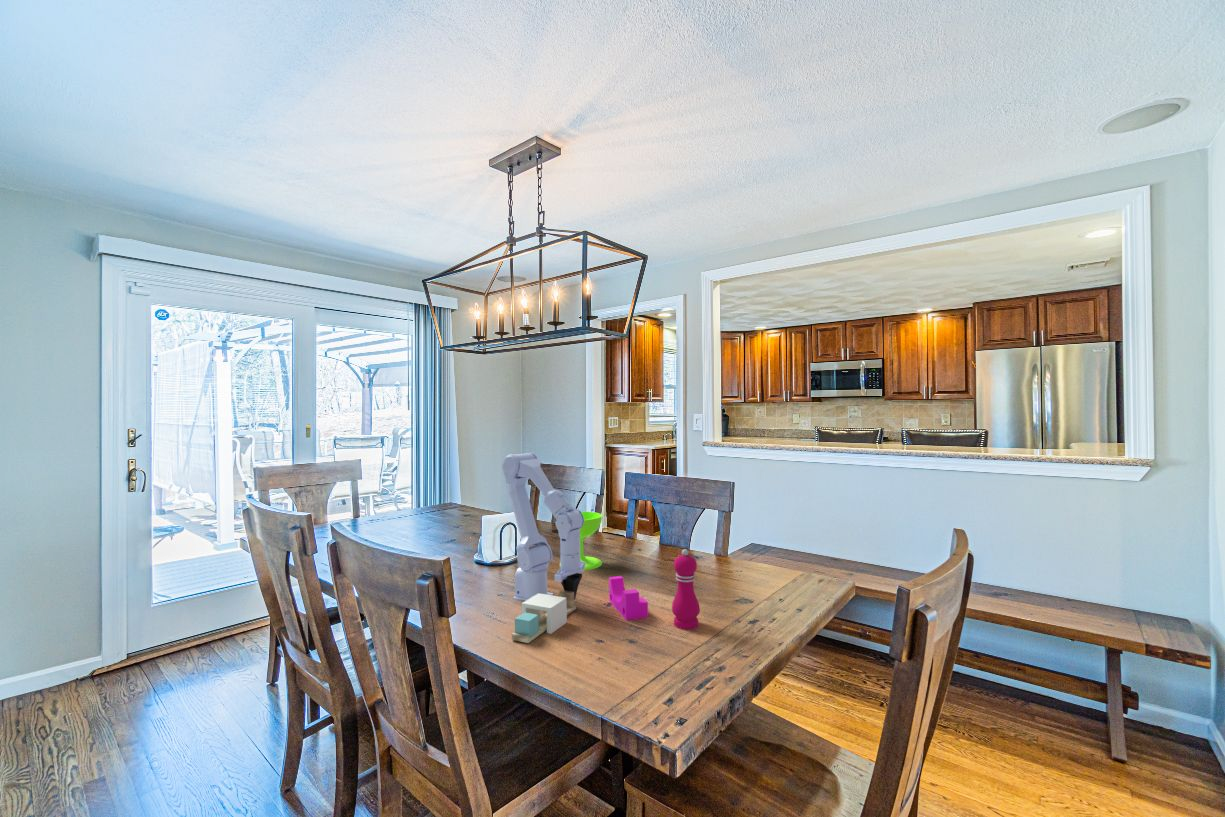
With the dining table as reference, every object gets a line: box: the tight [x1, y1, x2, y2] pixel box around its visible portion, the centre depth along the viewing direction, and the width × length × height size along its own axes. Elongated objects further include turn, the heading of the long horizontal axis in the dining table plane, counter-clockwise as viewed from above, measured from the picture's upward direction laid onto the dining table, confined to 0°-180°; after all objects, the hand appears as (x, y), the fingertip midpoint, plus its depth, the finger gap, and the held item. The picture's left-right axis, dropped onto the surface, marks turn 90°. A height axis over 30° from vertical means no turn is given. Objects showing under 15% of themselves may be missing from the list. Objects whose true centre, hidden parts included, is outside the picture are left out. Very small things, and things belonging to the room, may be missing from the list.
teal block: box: [514, 612, 539, 637], centre depth 131 cm, size 4×4×4 cm
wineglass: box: [580, 511, 603, 571], centre depth 194 cm, size 16×16×18 cm
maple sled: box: [511, 589, 577, 644], centre depth 140 cm, size 5×24×5 cm, turn 155°
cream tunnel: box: [521, 593, 568, 635], centre depth 139 cm, size 9×8×7 cm
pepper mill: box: [671, 548, 701, 631], centre depth 138 cm, size 7×7×20 cm
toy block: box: [608, 575, 649, 621], centre depth 150 cm, size 15×6×8 cm, turn 18°
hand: (570, 600), depth 152 cm, fingers closed
